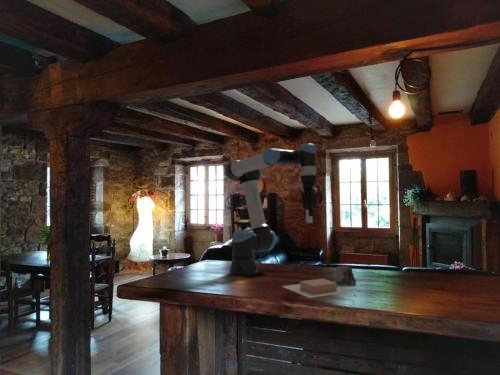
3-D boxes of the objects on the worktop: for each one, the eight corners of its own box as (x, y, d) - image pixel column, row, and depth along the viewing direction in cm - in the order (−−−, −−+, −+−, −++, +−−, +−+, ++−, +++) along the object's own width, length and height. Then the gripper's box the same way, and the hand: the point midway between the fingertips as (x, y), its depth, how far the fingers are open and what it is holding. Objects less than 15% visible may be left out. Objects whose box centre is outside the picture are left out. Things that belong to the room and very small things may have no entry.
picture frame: (300, 281, 159) (313, 286, 150) (322, 278, 165) (336, 283, 155) (300, 288, 159) (313, 293, 150) (322, 285, 164) (337, 290, 155)
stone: (356, 263, 170) (334, 261, 173) (355, 280, 162) (332, 278, 166) (356, 276, 176) (335, 274, 179) (356, 293, 168) (333, 291, 171)
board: (281, 288, 164) (281, 286, 164) (322, 283, 173) (321, 281, 173) (309, 300, 144) (309, 297, 144) (353, 294, 153) (353, 291, 153)
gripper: (295, 175, 186) (295, 222, 185) (309, 174, 174) (310, 223, 174) (307, 176, 189) (308, 221, 189) (322, 174, 178) (323, 223, 177)
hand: (309, 222), depth 181 cm, fingers closed
